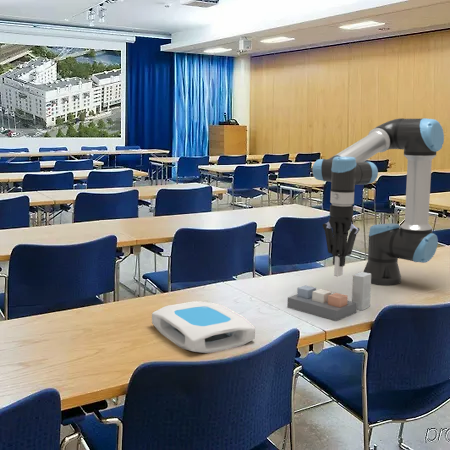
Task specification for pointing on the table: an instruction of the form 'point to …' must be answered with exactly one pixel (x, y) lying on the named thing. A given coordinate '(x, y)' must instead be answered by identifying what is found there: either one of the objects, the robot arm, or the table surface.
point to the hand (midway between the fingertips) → (338, 275)
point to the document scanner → (203, 326)
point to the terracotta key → (337, 300)
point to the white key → (320, 295)
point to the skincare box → (361, 290)
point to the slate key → (305, 292)
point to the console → (321, 308)
